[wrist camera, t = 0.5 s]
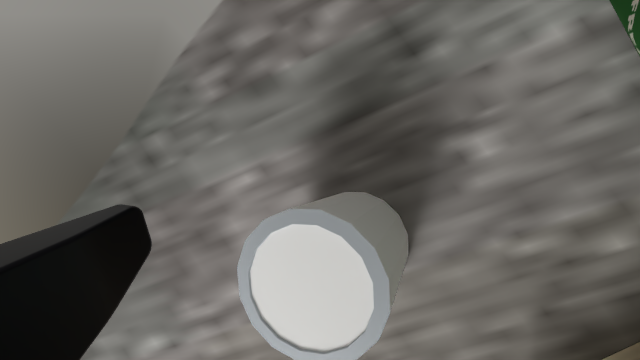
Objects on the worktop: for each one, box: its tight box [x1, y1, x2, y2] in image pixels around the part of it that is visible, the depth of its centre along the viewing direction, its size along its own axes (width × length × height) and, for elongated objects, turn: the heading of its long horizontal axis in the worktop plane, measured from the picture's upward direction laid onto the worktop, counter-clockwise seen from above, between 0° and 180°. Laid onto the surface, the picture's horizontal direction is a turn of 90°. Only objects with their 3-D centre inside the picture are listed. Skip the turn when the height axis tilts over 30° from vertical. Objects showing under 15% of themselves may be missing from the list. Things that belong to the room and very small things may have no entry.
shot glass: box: [237, 192, 409, 360], centre depth 23 cm, size 7×7×7 cm
